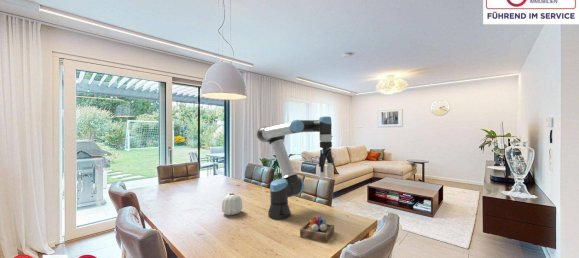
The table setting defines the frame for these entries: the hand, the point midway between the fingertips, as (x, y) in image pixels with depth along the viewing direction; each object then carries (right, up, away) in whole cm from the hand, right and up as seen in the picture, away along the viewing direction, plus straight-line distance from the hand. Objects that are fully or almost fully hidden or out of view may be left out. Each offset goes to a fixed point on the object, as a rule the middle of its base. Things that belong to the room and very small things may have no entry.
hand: (326, 175), depth 146 cm
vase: (-63, -30, +17) cm, 72 cm away
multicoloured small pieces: (-7, -26, -18) cm, 33 cm away
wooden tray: (-8, -29, -18) cm, 35 cm away
